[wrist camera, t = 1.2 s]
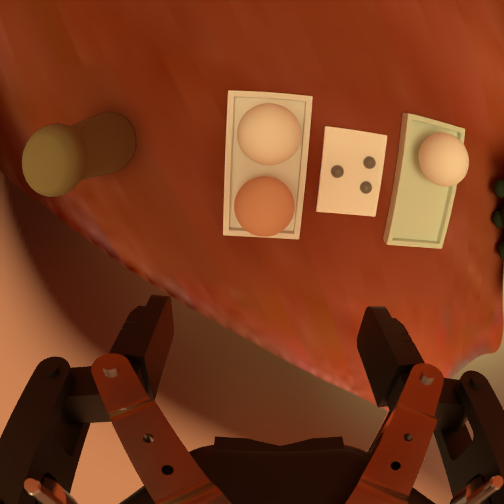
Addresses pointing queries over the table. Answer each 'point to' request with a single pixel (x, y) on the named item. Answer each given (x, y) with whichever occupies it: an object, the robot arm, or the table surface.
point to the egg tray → (246, 169)
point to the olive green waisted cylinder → (77, 152)
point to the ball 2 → (264, 206)
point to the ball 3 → (443, 159)
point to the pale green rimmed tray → (418, 190)
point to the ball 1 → (269, 134)
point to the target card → (350, 171)
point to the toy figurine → (499, 213)
